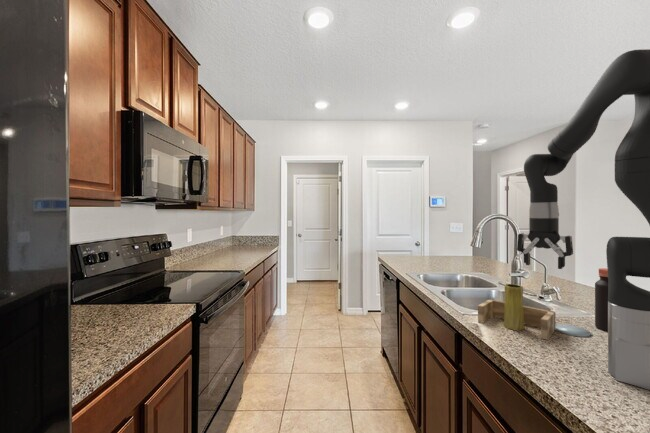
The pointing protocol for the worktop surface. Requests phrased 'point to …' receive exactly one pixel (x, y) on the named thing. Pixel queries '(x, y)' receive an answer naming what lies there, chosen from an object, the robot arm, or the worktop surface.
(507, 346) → the worktop surface
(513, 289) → the vase
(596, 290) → the bottle
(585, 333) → the trivet
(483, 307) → the wooden bracket
